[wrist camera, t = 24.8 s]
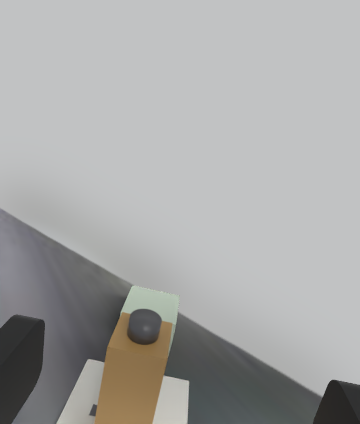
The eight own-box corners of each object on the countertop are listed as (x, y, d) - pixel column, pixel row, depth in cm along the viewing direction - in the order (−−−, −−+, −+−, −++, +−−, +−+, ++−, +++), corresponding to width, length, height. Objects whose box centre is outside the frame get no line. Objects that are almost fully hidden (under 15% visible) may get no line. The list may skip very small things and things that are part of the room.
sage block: (172, 324, 47) (179, 295, 45) (168, 358, 40) (176, 324, 38) (127, 314, 47) (132, 285, 45) (114, 346, 40) (120, 312, 39)
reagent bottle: (150, 418, 31) (175, 308, 27) (142, 466, 26) (171, 343, 23) (105, 407, 31) (124, 297, 27) (88, 455, 26) (110, 329, 23)
